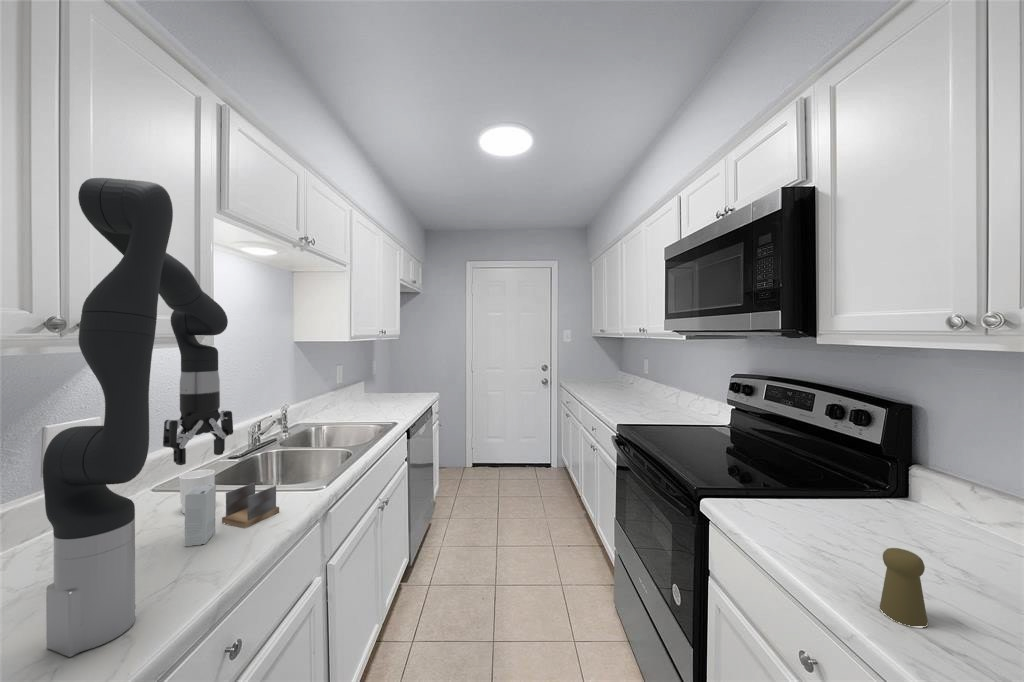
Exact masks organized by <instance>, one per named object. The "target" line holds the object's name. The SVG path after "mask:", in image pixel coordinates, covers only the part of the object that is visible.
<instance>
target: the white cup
mask: <svg viewBox="0 0 1024 682" xmlns="http://www.w3.org/2000/svg"><path fill="white" fill-rule="evenodd" d="M215 476H216V471H215V470H214V469H198V470H192V471H188V472H185V473H182V474H180V475H179V477H178V482H179V494H180V504H181V512H182V514H183V513H184V514H183V515H185V495H186V494H188V493H189V492H190V491H191V490H193V489H194V488H195V487H196V486H203V485H214V484H215Z"/></svg>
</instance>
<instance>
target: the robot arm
mask: <svg viewBox="0 0 1024 682" xmlns="http://www.w3.org/2000/svg"><path fill="white" fill-rule="evenodd" d="M78 204H79V207H80V209H81V212H82V214H83V215H84V217H85V218H86V220H87V221H88V222H89V223H90V225H91V226H92V227H93V228H94V229H95V230H96V231H98V233H99V234H100V235H101V236H102V237H103V238H105V240H107V241H108V243H110V244H111V245H112V246H113V247H114V248H115V249H117V251H119V253H120V254H121V255H122V258H121V260H120V261H119V262H118V264H116V266H115V267H114V268H113V269H112V270H111V271H109V273H108V274H107V275H106V276H104V278H103V279H102V280H101V281H99V283H98V284H96V286H95V287H94V288H93V289H92V290H91V291H90V293H89V294H88V296H87V297H86V298H85V300H84V302H83V305H82V310H81V314H80V315H81V316H80V321H79V322H80V323H79V331H78V346H79V348H80V352H81V354H82V355H83V358H84V360H85V362H86V363H87V365H88V366H89V368H90V370H91V371H92V373H93V375H94V376H95V377H96V379H97V381H98V383H99V385H100V387H101V389H102V393H103V397H104V420H103V421H104V422H103V425H79V426H72V427H68V428H65V429H63V430H62V431H60V432H58V433H57V434H56V435H55V436H54V437H53V438H52V439H51V440H50V442H49V443H48V445H47V446H46V449H45V452H44V454H43V455H44V456H43V461H42V482H43V484H42V485H43V494H44V504H45V505H44V507H45V516H46V518H47V520H48V522H49V523H50V524H51V526H52V528H53V529H52V531H53V532H52V533H53V583H50V584H48V585H47V586H46V589H45V590H46V592H45V593H46V595H45V596H46V600H45V601H46V610H45V611H46V614H45V616H46V619H45V620H46V624H45V625H46V631H45V632H46V648H47V649H48V650H51V651H53V652H56V653H58V654H61V655H63V656H65V657H68V658H70V657H73V656H76V655H77V654H79V653H81V652H84V651H87V650H88V651H89V650H91V649H94V648H97V647H99V646H102V645H104V644H106V643H108V642H111V641H113V640H114V639H116V638H118V637H120V636H121V635H123V634H124V633H125V632H126V631H128V630H129V629H130V628H131V627H132V626H133V625H134V623H135V621H136V610H137V608H136V507H135V503H134V501H133V500H132V499H130V498H128V497H125V496H122V495H120V494H118V493H116V492H114V491H113V490H111V489H110V488H109V487H108V485H119V484H125V483H128V482H131V481H132V480H134V479H135V478H136V477H137V476H138V475H139V474H140V473H141V471H142V470H143V468H144V466H145V463H146V461H147V458H148V455H149V454H148V453H149V447H150V402H149V401H150V400H149V399H150V396H149V395H150V393H149V392H150V382H151V381H150V380H151V370H152V369H151V368H152V358H153V357H152V355H153V351H154V343H155V338H156V329H157V328H156V327H157V319H158V318H157V317H158V302H159V295H160V298H161V299H162V300H163V301H164V303H165V304H166V306H167V307H168V308H170V309H171V310H173V311H172V312H171V315H170V325H171V330H172V332H173V335H174V337H175V339H176V340H175V341H176V343H177V346H178V349H179V353H180V376H179V377H180V379H179V411H180V417H179V419H174V420H173V419H166V420H164V423H163V436H162V439H163V441H162V446H163V447H164V448H170V449H173V463H175V464H176V465H177V466H184V465H186V464H187V463H186V462H187V460H186V459H187V452H186V451H187V449H186V445H187V444H188V443H189V441H191V440H192V439H193V438H194V436H199V435H202V434H211V435H212V436H213V437H214V439H213V454H214V455H215V456H222V455H223V454H224V452H225V449H226V446H225V444H226V438H227V437H228V436H231V435H233V434H234V421H233V411H231V410H221V411H219V409H220V405H221V397H220V395H221V389H220V387H221V385H220V384H221V383H220V381H221V379H220V374H219V373H220V372H219V351H218V348H217V347H215V346H212V345H207V344H202V343H200V342H199V341H198V339H197V338H196V336H218V335H220V334H222V333H224V332H225V331H226V329H227V327H228V322H229V321H228V316H227V314H226V311H225V310H224V309H223V307H222V306H221V305H220V304H219V303H217V302H216V301H215V300H214V299H213V298H212V297H211V296H209V295H208V294H207V293H206V292H205V291H204V290H202V288H201V286H200V284H199V283H198V280H197V279H196V278H195V276H194V275H193V273H192V272H191V271H190V270H189V268H188V267H187V266H185V265H184V263H182V262H181V261H180V260H178V259H177V258H175V257H174V256H172V255H171V254H169V253H168V252H167V248H168V246H169V240H170V234H171V230H172V225H173V217H174V215H173V214H174V209H173V202H172V199H171V196H170V194H169V192H168V191H167V189H166V188H164V186H162V185H160V184H158V183H157V182H152V181H151V182H150V181H145V180H133V179H125V178H124V179H122V178H112V177H93V178H89V179H86V180H85V181H84V182H82V183H81V185H80V187H79V190H78ZM219 420H220V424H218V422H219ZM180 426H181V427H182V428H181V429H180ZM178 429H180V430H179V432H178Z"/></svg>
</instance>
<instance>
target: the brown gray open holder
mask: <svg viewBox="0 0 1024 682" xmlns="http://www.w3.org/2000/svg"><path fill="white" fill-rule="evenodd" d="M278 513H280V506H277V486H276V485H274V486H271V487H269V488H266V489H263V490H262V491H258V492H256V482H253V483H249V484H248V485H244V486H242V487H239V488H236V489H234V490H231V491H228V492H225V516H223V517H221V523H225V524H224V525H227V524H229V525H228V526H232V525H234V526H233V527H237V526H238V527H239V528H242V527H243V529H246V528H249V527H250V526H253V525H255V524H257V523H260V522H261V521H264V520H266V519H268V518H270V517H273V516H274V515H277V514H278ZM238 527H237V528H238Z"/></svg>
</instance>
